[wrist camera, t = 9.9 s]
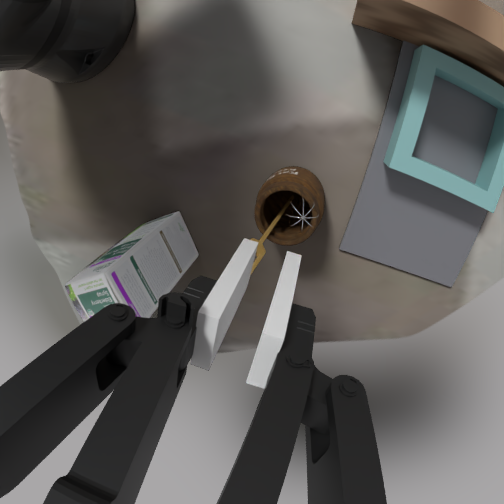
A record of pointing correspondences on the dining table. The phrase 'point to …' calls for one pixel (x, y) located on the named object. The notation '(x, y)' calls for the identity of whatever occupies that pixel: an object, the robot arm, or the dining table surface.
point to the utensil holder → (288, 208)
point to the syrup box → (136, 269)
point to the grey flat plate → (423, 185)
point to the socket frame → (411, 116)
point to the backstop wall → (442, 29)
